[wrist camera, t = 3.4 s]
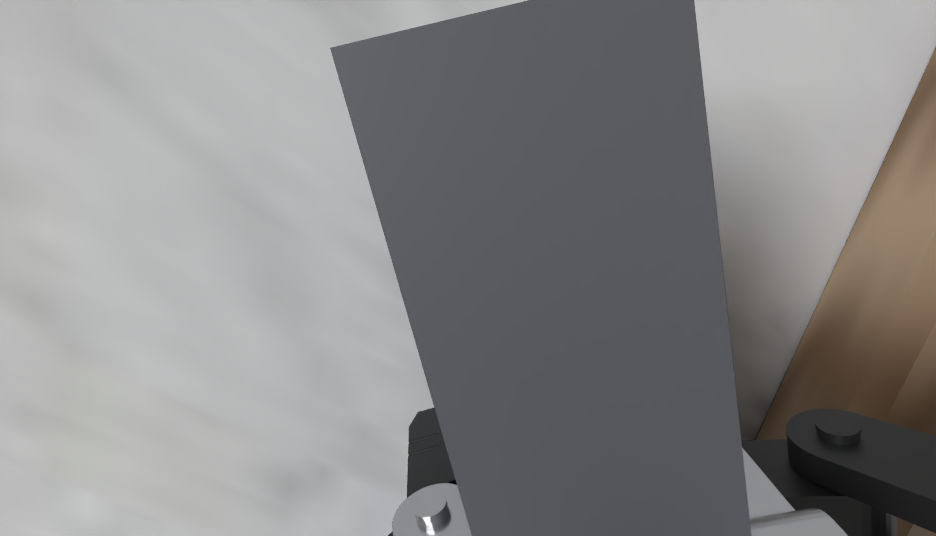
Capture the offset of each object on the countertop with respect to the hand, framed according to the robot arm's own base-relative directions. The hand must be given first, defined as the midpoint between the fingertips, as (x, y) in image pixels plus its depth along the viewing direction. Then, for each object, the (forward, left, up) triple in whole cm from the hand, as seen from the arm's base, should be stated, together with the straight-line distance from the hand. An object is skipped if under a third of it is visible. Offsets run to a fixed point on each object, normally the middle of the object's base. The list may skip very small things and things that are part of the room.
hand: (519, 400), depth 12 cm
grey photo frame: (0, 0, -1) cm, 1 cm away
